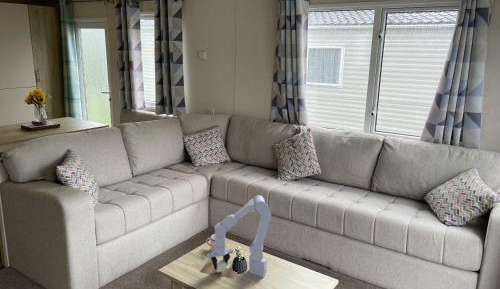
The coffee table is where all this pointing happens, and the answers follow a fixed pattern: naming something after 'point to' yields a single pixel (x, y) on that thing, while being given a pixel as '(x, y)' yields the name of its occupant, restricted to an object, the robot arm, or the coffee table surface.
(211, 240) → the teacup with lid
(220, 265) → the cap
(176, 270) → the coffee table surface
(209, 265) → the board
